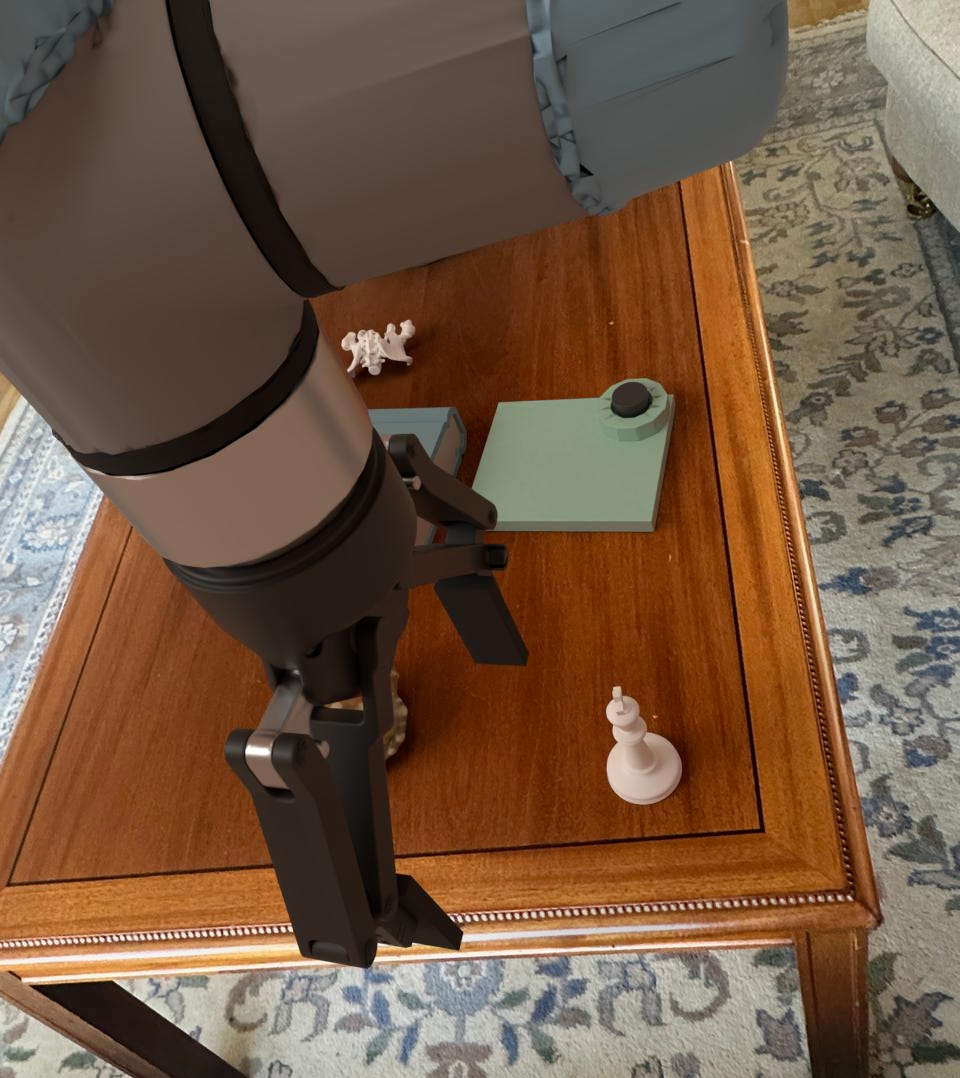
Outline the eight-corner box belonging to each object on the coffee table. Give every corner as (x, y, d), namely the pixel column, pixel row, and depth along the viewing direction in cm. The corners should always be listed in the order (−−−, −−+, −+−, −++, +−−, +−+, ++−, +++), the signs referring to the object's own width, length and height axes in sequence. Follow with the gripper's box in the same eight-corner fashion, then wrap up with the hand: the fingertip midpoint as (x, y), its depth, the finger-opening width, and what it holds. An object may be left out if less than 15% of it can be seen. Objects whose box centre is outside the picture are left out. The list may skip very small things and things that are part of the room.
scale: (676, 401, 85) (671, 376, 83) (654, 532, 77) (648, 507, 75) (503, 409, 91) (494, 385, 89) (466, 531, 83) (455, 508, 81)
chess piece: (676, 730, 66) (652, 651, 58) (687, 799, 63) (664, 724, 55) (603, 742, 67) (571, 665, 60) (611, 809, 64) (578, 737, 56)
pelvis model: (410, 304, 99) (403, 342, 95) (423, 339, 102) (416, 377, 98) (337, 320, 101) (326, 358, 97) (352, 354, 104) (342, 392, 100)
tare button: (652, 392, 83) (649, 380, 82) (647, 417, 81) (644, 406, 80) (617, 394, 84) (614, 382, 83) (612, 419, 82) (609, 407, 81)
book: (195, 570, 90) (166, 536, 86) (262, 441, 99) (239, 406, 95) (418, 581, 81) (397, 544, 77) (469, 439, 90) (452, 399, 86)
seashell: (328, 731, 78) (313, 620, 74) (428, 737, 76) (418, 624, 73) (288, 806, 70) (269, 685, 66) (399, 814, 68) (386, 691, 64)
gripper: (294, 239, 38) (459, 566, 54) (-55, 871, 24) (309, 1066, 39) (474, 216, 35) (593, 568, 51) (202, 916, 21) (484, 1107, 36)
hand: (470, 786), depth 45 cm, fingers open, 13 cm apart
